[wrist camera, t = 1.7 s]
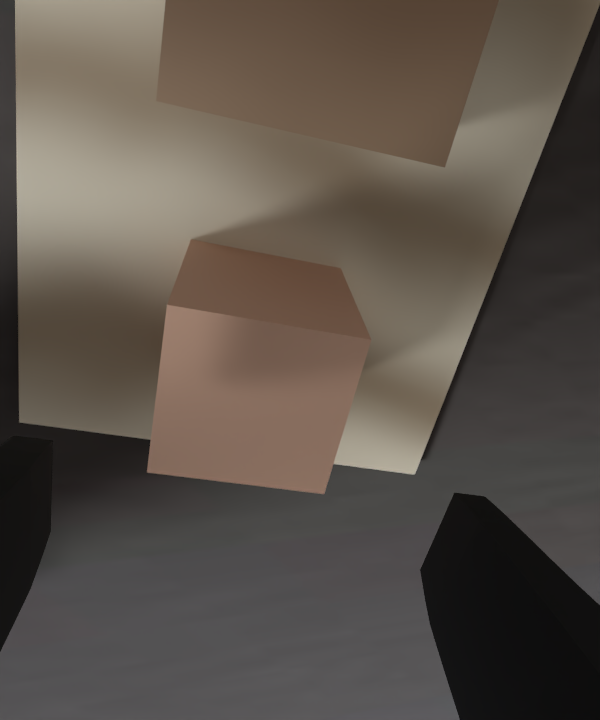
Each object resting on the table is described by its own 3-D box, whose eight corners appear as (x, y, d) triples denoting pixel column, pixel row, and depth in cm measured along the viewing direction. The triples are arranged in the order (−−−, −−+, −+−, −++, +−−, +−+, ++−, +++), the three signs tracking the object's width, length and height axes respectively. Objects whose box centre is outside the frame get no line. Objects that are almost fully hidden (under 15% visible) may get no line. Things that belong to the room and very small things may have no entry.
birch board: (410, 464, 21) (415, 474, 21) (25, 412, 19) (18, 422, 18) (681, -238, 12) (700, -252, 12) (22, -493, 10) (10, -525, 10)
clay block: (307, 393, 19) (323, 494, 14) (173, 373, 18) (146, 472, 14) (340, 268, 17) (371, 339, 12) (190, 239, 16) (166, 304, 12)
